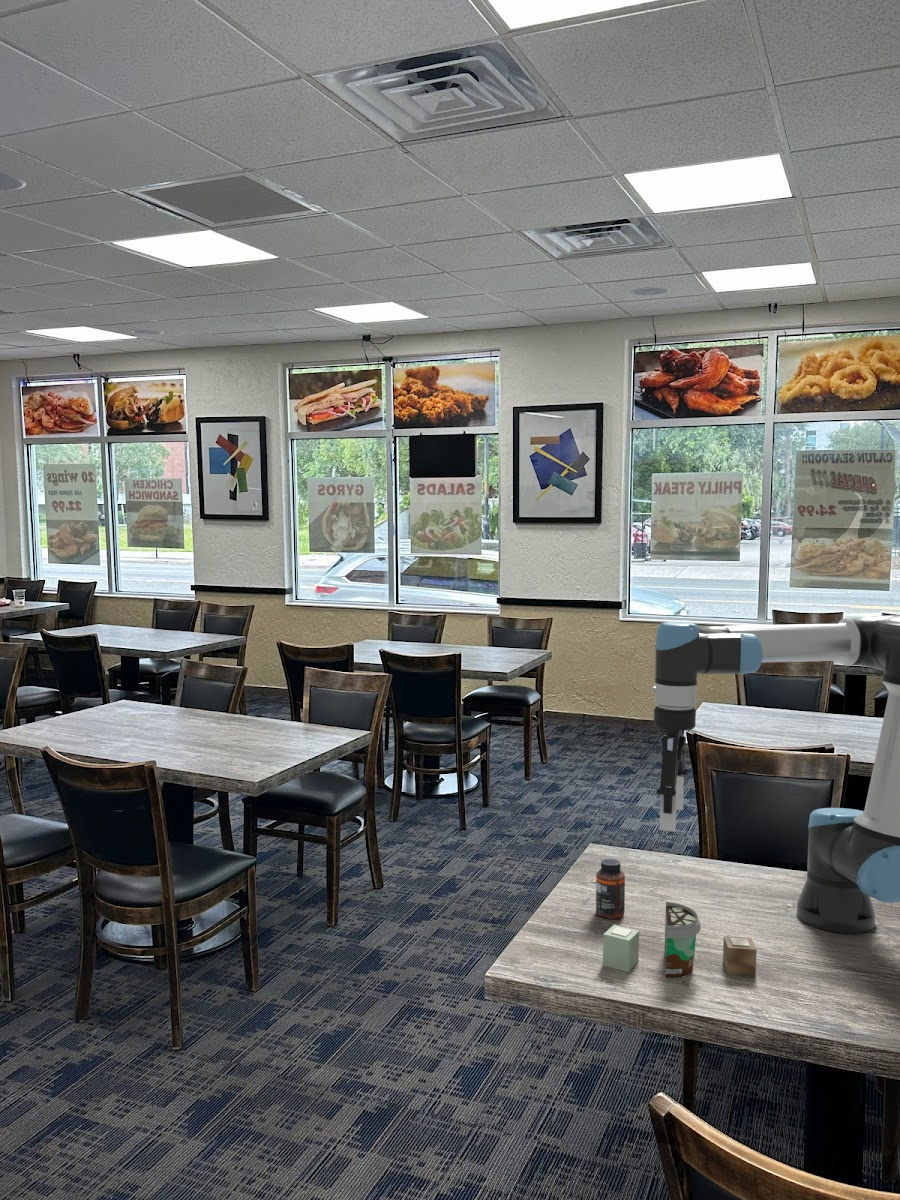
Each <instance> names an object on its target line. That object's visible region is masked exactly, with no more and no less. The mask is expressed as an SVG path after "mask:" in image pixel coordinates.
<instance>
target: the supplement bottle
mask: <svg viewBox="0 0 900 1200" xmlns="http://www.w3.org/2000/svg"><path fill="white" fill-rule="evenodd" d="M595 882H596V883H595V885H596V886H595V889H596V892H595V913H596V914H597V916H599V917H600V918H603V919H608V920H615V919H616V920H617V919H620V918H622V917H623V916H624V915H625V907H626V903H625V902H626V901H625V899H626V898H625V897H626V895H625V893H626V892H625V891H626V890H625V889H626V877H625V873H624V872H623V870H621V862H620V860H618V859H616V858H615V859H614V858H605V859H602V860H601V862H600V869H598V870H597V872H596V881H595Z"/></svg>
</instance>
